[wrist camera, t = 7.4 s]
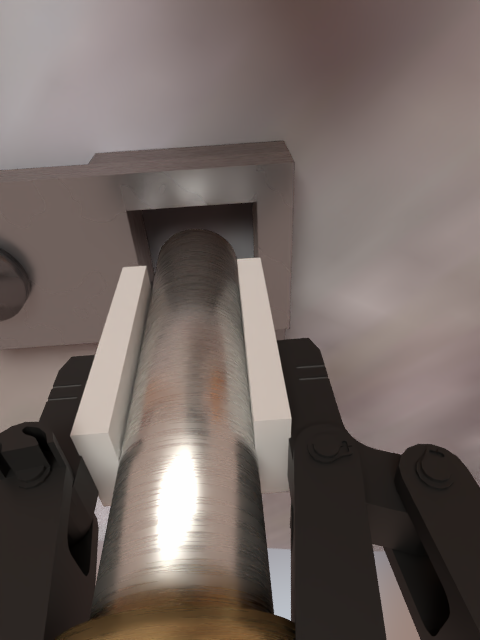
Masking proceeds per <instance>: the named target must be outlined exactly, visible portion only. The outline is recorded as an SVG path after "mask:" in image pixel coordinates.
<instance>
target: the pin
mask: <svg viewBox="0 0 480 640" xmlns="http://www.w3.org/2000/svg"><path fill="white" fill-rule="evenodd" d="M54 640H295V623H294V622H292V621H290V620H288V619H285V618H283V617H280V616H277V615H274V609H273V601H272V590H271V581H270V572H269V562H268V552H267V542H266V533H265V523H264V514H263V504H262V495H261V485H260V475H259V466H258V458H257V454H256V452H255V443H254V433H253V423H252V413H251V403H250V393H249V383H248V373H247V363H246V353H245V343H244V333H243V323H242V313H241V304H240V294H239V282H238V266H237V258H236V254H235V252H234V249H233V248H232V246H231V245H230V244H229V242H228V241H227V240H226V239H224V238H223V237H222V236H220V235H219V234H217V233H215V232H212V231H209V230H205V229H188V230H184V231H181V232H179V233H177V234H175V235H173V236H172V237H170V238H169V239H168V240H167V241H166V242H165V244H164V245H163V246H162V248H161V250H160V253H159V257H158V262H157V267H156V273H155V278H154V283H153V288H152V294H151V299H150V304H149V309H148V315H147V320H146V325H145V330H144V335H143V341H142V346H141V351H140V356H139V362H138V367H137V372H136V377H135V382H134V388H133V393H132V398H131V403H130V409H129V414H128V419H127V424H126V430H125V435H124V440H123V445H122V450H121V456H120V461H119V466H118V471H117V477H116V482H115V487H114V492H113V497H112V503H111V508H110V513H109V518H108V524H107V529H106V534H105V539H104V545H103V550H102V555H101V560H100V566H99V571H98V576H97V581H96V586H95V592H94V597H93V602H92V607H91V613H90V618H89V621H86V622H84V623H81V624H78V625H76V626H74V627H72V628H70V629H68V630H66V631H64V632H63V633H61V634H60V635H58V636H57V637H56V638H55V639H54Z"/></svg>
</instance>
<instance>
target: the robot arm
mask: <svg viewBox="0 0 480 640" xmlns="http://www.w3.org/2000/svg"><path fill="white" fill-rule="evenodd" d="M237 266H238V282H239V294H240V304H241V313H242V323H243V333H244V343H245V353H246V363H247V373H248V383H249V393H250V403H251V413H252V423H253V433H254V443H255V452H256V454H257V458H258V466H259V475H260V485H261V494H263V493H276V492H288V491H289V489H290V495H291V517H290V528H291V621H292V622H294V623H295V640H386V633H385V626H384V620H383V613H382V606H381V600H380V593H379V586H378V581H377V580H378V579H377V573H376V566H375V559H374V553H373V546H372V544H375V545H379V546H383V548H384V550H385V552H386V555H387V557H388V560H389V562H390V565H391V567H392V570H393V572H394V575H395V577H396V580H397V582H398V585H399V587H400V590H401V592H402V595H403V597H404V600H405V602H406V604H407V607H408V610H409V612H410V614H411V617H412V619H413V622H414V624H415V626H416V629H417V632H418V634H419V636H420V639H421V640H480V487H479V486H478V484H477V483H476V481H475V480H474V478H473V476H472V475H471V473H470V472H469V470H468V469H467V467H466V466H465V465H464V464H463V463H462V462H461V460H460V459H459V458H458V457H457V456H456V455H454V454H452V453H451V452H449V451H448V450H446V449H445V448H441V447H438V446H435V445H432V444H417V445H415V446H412V447H409V448H407V449H406V451H405V452H404V453H403V454H402V455H400V454H395V453H390V452H386V451H381V450H377V449H373V448H370V447H367V446H365V445H363V444H361V443H360V442H358V441H357V440H356V439H354V438H353V437H352V436H351V435H350V434H349V433H348V431H347V430H346V429H345V427H344V425H343V422H342V420H341V416H340V413H339V410H338V407H337V403H336V400H335V397H334V394H333V391H332V387H331V384H330V381H329V379H328V374H327V371H326V368H325V367H324V361H323V358H322V355H321V352H320V349H319V348H318V347H317V346H316V345H315V344H314V343H313V342H312V341H311V340H310V339H309V338H301V339H288V340H276V335H275V330H274V325H273V320H272V315H271V310H270V304H269V299H268V294H267V289H266V284H265V279H264V273H263V268H262V263H261V258H246V259H237ZM151 294H152V290H151V285H150V280H149V276H148V271H147V266H134V267H123V268H122V272H121V275H120V278H119V281H118V284H117V288H116V291H115V294H114V297H113V300H112V304H111V307H110V310H109V313H108V316H107V319H106V323H105V326H104V329H103V332H102V335H101V339H100V342H99V345H98V348H97V351H96V354H95V355H90V356H76V357H71V358H70V359H69V360H68V362H67V363H66V364H65V365H64V366H63V367H62V368H61V369H60V370H59V372H58V374H57V377H56V380H55V382H54V385H53V389H52V390H51V392H50V395H49V397H48V402H46V405H45V407H44V410H43V412H42V415H41V417H40V420H39V422H24V423H21V424H18V425H15V426H12V427H10V428H8V429H7V430H5V431H3V432H2V433H0V640H54V639H55V638H56V637H57V636H58V635H60V634H61V633H63V632H64V631H66V630H68V629H70V628H72V627H74V626H76V625H78V624H81V623H84V622H86V621H89V618H90V613H91V607H92V602H93V597H94V592H95V581H96V563H97V546H98V529H99V528H98V521H97V518H96V516H95V514H94V511H95V507H96V502H97V497H98V496H99V498H100V500H101V502H102V504H103V506H111V503H112V497H113V492H114V487H115V482H116V477H117V471H118V466H119V461H120V456H121V450H122V445H123V440H124V435H125V430H126V424H127V419H128V414H129V409H130V403H131V398H132V393H133V388H134V382H135V377H136V372H137V367H138V362H139V356H140V351H141V346H142V341H143V335H144V330H145V325H146V320H147V315H148V309H149V304H150V299H151Z"/></svg>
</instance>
